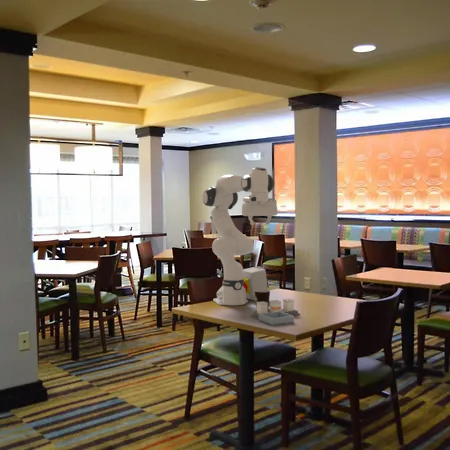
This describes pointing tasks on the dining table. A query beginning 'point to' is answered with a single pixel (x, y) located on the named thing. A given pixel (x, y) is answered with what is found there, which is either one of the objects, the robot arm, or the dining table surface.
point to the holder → (293, 313)
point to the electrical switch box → (254, 281)
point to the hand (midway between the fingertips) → (260, 224)
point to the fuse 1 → (262, 307)
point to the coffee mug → (262, 296)
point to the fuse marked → (275, 306)
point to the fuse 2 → (288, 304)
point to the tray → (276, 318)
